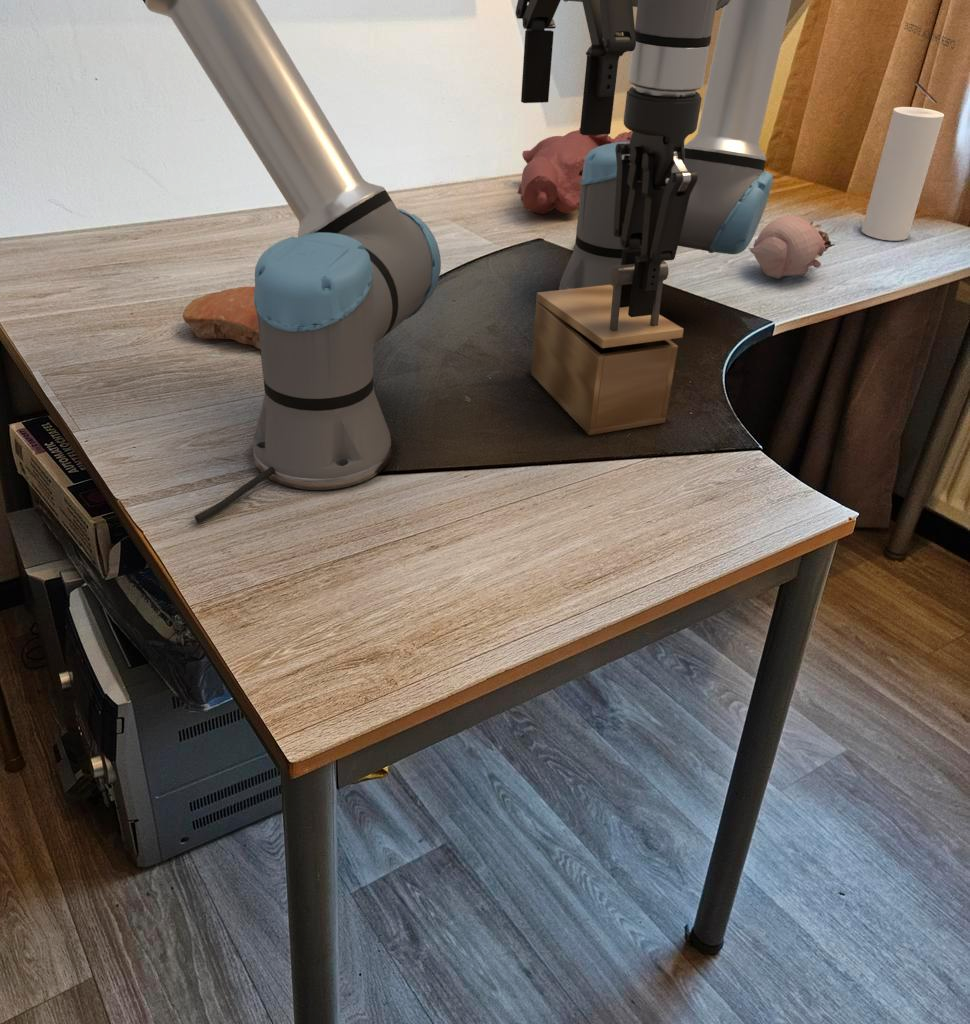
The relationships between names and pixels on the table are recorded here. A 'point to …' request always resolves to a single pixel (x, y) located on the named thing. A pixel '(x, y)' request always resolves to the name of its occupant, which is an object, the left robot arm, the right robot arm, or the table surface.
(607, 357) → the chest
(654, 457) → the table surface
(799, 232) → the toy
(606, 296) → the lid
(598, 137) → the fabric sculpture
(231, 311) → the ceramic shard
